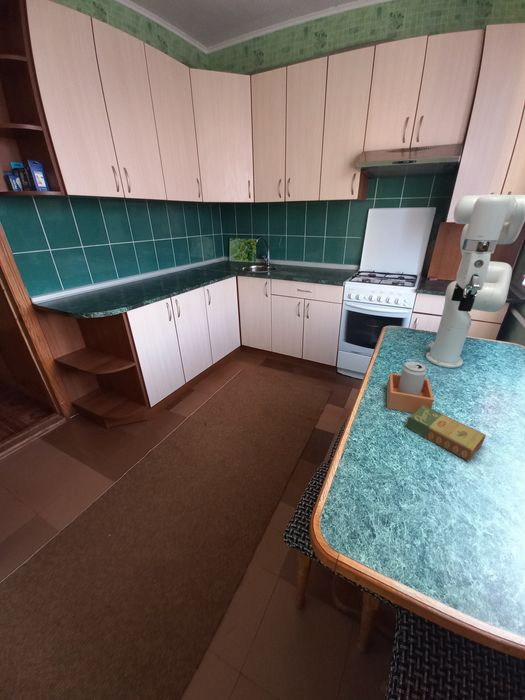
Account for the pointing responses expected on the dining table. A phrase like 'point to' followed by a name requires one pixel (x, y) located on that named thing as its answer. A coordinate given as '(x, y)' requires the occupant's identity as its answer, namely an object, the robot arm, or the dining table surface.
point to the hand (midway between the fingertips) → (460, 305)
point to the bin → (407, 396)
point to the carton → (446, 432)
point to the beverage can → (412, 378)
